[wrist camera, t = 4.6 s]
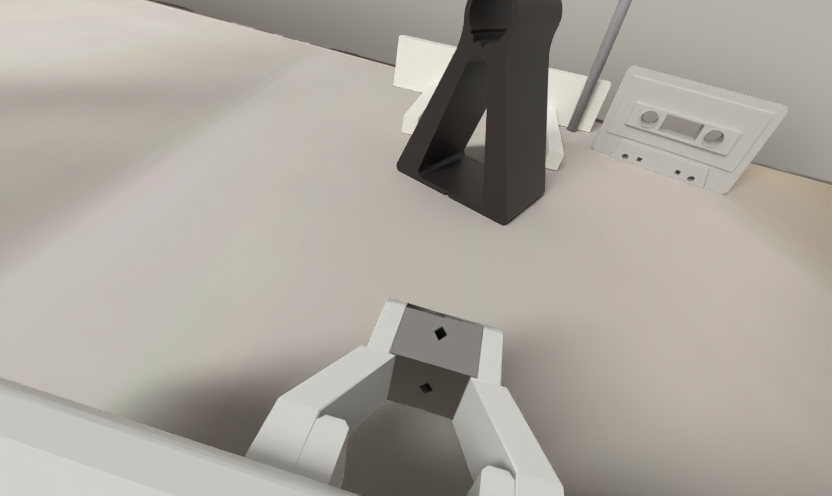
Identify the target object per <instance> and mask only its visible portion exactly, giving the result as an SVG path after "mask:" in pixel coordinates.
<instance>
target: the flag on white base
mask: <svg viewBox="0 0 832 496" xmlns="http://www.w3.org/2000/svg"><path fill="white" fill-rule="evenodd" d="M631 2H632V0H619V3H618V5H617V7H616V10H615V13H614V15H613V17H612V20H611V22H610V25H609V27H608V29H607V32H606V34H605V37H604V39H603V42H602V44H601V46H600V49H599V51H598V54H597V56H596V59H595V61H594V63H593V66H592V68H591V71H590V73H589V76H583V75H579V74H575V73H570V72H565V71H561V70H557V69H553V68H549V69H548V100H547V132H546V164H545V168H548V169H552V170H556V171H557V170H558V167H559V165H560V163H561V160H562V158H563V156H564V150H563V146H562V141H561V136H560V131H559V126H558V125H561V126H565V127H567V129H568V130H569V131H573V132H576V130H577V129H578V130H582V131H586V132H590V130H591V128H592V126H593V124H594V121H595V119H596V117H597V115H598V113H599V110H600V108H601V106H602V104H603V101H604V99H605V97H606V95H607V92H608V90H609V88H610V86H611V83H610V82H609V81H606V80H601V79H599V77H600V74H601V72H602V70H603V67H604V65H605V63H606V60H607V58H608V56H609V53H610V51H611V49H612V46H613V44H614V42H615V39H616V37H617V35H618V32H619V30H620V27H621V25H622V23H623V20H624V18H625V16H626V13H627V11H628V9H629V6H630V4H631ZM456 49H457V47H455V46H450V45H446V44H441V43H437V42H432V41H428V40H423V39H419V38H415V37H410V36H405V35H401V36H399V42H398V51H397V59H396V68H395V76H394V84H393V86H396V87H400V88H405V89H409V90H413V91H417V92H421V93H422V94H421V95H420V97H419V98H418V99H417V100H416V101H415V103H414V104H413V105H412V106H411V107H410V109H409V110H408V111H407V112H406V113H405V115H404V120H403V127H402V133H406V134H410V135H412V134H413V132H414V130H415V128H416V126H417V124H418V122H419V120H420V118H421V116H422V114H423V112H424V110H425V108H426V107H427V105H428V103H429V101H430V99H431V97H432V95H433V93H434V91H435V89H436V87H437V85H438V83H439V81H440V80H441V78H442V76H443V74H444V72H445V70H446V68H447V66H448V64H449V62H450V60H451V58H452V56H453V54H454V53H455V51H456Z"/></svg>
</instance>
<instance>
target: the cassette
mask: <svg viewBox="0 0 832 496" xmlns="http://www.w3.org/2000/svg"><path fill="white" fill-rule="evenodd" d="M647 111H654V112H656V113H657V114H658V118H656V120H655V121H653V122H646V121H644V120H643V118H642V116H644V113H645V112H647ZM787 113H788V108H787V107H786V106H785V105H783V104H779V103H775V102H771V101H768V100H764V99H760V98H756V97H752V96H749V95H745V94H741V93H737V92H734V91H730V90H726V89H722V88H719V87H715V86H711V85H707V84H703V83H700V82H696V81H692V80H688V79H685V78H681V77H677V76H673V75H669V74H666V73H661V72H657V71H654V70H651V69H646V68H643V67H639V66H635V65H633V66H631V67H630V68H629V69H628V70H627V72H626V75H625V77H624V79H623V81H622V83H621V85H620V87H619V89H618V92H617V94H616V96H615V98H614V100H613V102H612V104H611V107H610V109H609V111H608V113H607V115H606V118H605V120H604V122H603V124H602V126H601V127H600V129H599V131H598V133H597V135H596V138H595V140H594V142H593V144H592V149H593V150H595V151H598V152H601V153H604V154H607V155H609V156H610V157H612V158H615V159H618V160H621V161H624V162H627V163H629V164H632V165H635V166H638V167H641V168H644V169H647V170H650V171H653V172H655V173H658V174H661V175H664V176H667V177H670V178H673V179H676V180H679V181H682V182H684V183H687V184H690V185H693V186H696V187H699V188H702V189H703V188H706V189H709V190H712V191H714V192H717V193H720V194H726V193H728V192H729V190H730V189H731V188H732V186H733V185H734V184H735V182H736V181H737V180H738V178H739V177H740V176H741V174H742V173H743V172H744V170H745V169H746V168H747V166H748V165H749V164H750V162H751V161H752V159H753V158H754V157H755V156H756V154H757V153H758V151H759V150H760V149H761V148H762V146H763V145H764V143H765V142H766V141H767V140H768V138H769V137H770V136H771V134H772V133H773V132H774V130H775V129H776V128H777V126H778V125H779V124H780V122H781V121H782V120H783V118H784V117H785V116H786V114H787ZM667 114H668V115H672V116H675V117H679V118H682V119H685V120H689V121H692V122H696V123H699V124H702V125H701V127H700V128H699V130H698V132H697V133H696V135H695V136H694V137H690V136H687V135H684V134H681V133H677V132H674V131H671V130H668V129H664V128H661V127H660V126H661V124H662V122H663V121H664V119H665V117H666V115H667ZM713 130H718V131H720V132H722V135H721V136H720V137H719V138H718V139H716V140H714V141H708V140H706V139H705V138H704V136H705V135H706V134H707V133H708V132H710V131H713ZM625 154H627V155H625Z"/></svg>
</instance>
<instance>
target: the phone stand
mask: <svg viewBox="0 0 832 496" xmlns="http://www.w3.org/2000/svg"><path fill="white" fill-rule="evenodd" d="M561 17H562V2H561V0H468V1H467V4H466V8H465V14H464V26H463V31H462V35H461V38H460V41H459V44H458V46H457V49H456V51H455V53H454V54H453V56H452V58H451V60H450V62H449V64H448V66H447V68H446V70H445V72H444V74H443V76H442V78H441V80H440V81H439V83H438V85H437V87H436V89H435V91H434V93H433V95H432V97H431V99H430V101H429V103H428V105H427V107H426V108H425V110H424V112H423V114H422V116H421V118H420V120H419V122H418V124H417V126H416V128H415V130H414V132H413V134H412V135H411V137H410V139H409V141H408V143H407V145H406V147H405V149H404V151H403V153H402V155H401V157H400V159H399V161H398V162H397V169H398V170H399V171H400V172H402V173H404V174H406V175H408V176H409V177H411V178H413V179H415V180H417V181H419V182H421V183H423V184H425V185H426V186H428V187H430V188H432V189H434V190H436V191H438V192H440V193H442V194H444V195H445V194H448V195H449V198H451V199H453V200H455V201H457V202H459V203H461V204H463V205H464V206H466V207H468V208H470V209H472V210H474V211H476V212H478V213H480V214H482V215H483V216H485V217H487V218H489V219H491V220H493V221H495V222H497V223H499V224H501V225H504V224H506V223H507V222H508V221H509V220H511V219H512V218H513V217H515V216H516V215H517V214H518V213H520V212H521V211H522V210H523V209H525V208H526V207H527V206H528V205H530V204H531V203H532V202H533V201H535V200H536V199H537V198H538V197H540V196H541V195H542V194H543V193H544V191H545V164H546V132H547V100H548V69H549V67H548V66H549V51H550V46H551V42H552V39H553V36H554V34H555V32H556V29H557V28H558V26H559V23H560V21H561ZM486 108H487V117H486V140H485V163H484V164H482V163H480V162H478V161H476V160H474V159H472V158H469V157H467V156H466V155H465V154H464V149H465V147H466V145H467V143H468V141H469V140H470V138H471V136H472V134H473V132H474V130H475V128H476V127H477V125H478V123H479V121H480V119H481V117H482V115H483V114H484V112H485V110H486Z"/></svg>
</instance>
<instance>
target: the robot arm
mask: <svg viewBox="0 0 832 496" xmlns="http://www.w3.org/2000/svg"><path fill="white" fill-rule="evenodd" d="M503 341H504V332H503V330H502V329H498V328H494V327H491V326H487V325H482V324H480V323H476V322H472V321H469V320H465V319H461V318H458V317H454V316H450V315H446V314H442V313H438V312H435V311H432V310H429V309H425V308H422V307H419V306H416V305H412V304H409V303H408V304H407V303H405V302H401V301H398V300H395V299H392V298H388V299H387V301H386V302H385V305H384V307H383V309H382V312H381V314H380V317H379V319H378V321H377V324H376V326H375V329H374V331H373V333H372V336H371V338H370V341H369V343H368V345H367V346H363V345H360V346H359V347H357V348H356V349H354V350H353V351H351V352H349V353H348V354H346V355H345V356H343V357H342V358H340V359H338V360H337V361H335V362H334V363H332V364H331V365H329V366H327V367H326V368H324V369H323V370H321V371H320V372H318V373H316V374H315V375H313V376H312V377H310V378H309V379H307V380H305V381H304V382H302V383H301V384H299V385H298V386H296V387H294V388H293V389H291V390H290V391H288V392H287V393H285V394H283V395H282V396H280V397H279V398H278V399H277V401H276V403H275V405H274V406H273V408H272V410H271V412H270V413H269V415H268V417H267V418H266V420H265V422H264V424H263V425H262V427H261V429H260V431H259V432H258V434H257V436H256V437H255V439H254V441H253V443H252V444H251V446H250V448H249V450H248V451H247V453H246V455H245V456H244V457H242V456H239V455H236V454H233V453H230V452H227V451H224V450H221V449H218V448H215V447H212V446H209V445H206V444H203V443H200V442H197V441H194V440H190V439H187V438H184V437H181V436H178V435H175V434H172V433H169V432H166V431H163V430H160V429H157V428H154V427H151V426H148V425H145V424H142V423H139V422H136V421H133V420H130V419H126V418H123V417H120V416H117V415H114V414H111V413H108V412H105V411H102V410H99V409H96V408H93V407H90V406H87V405H84V404H81V403H78V402H75V401H72V400H69V399H65V398H62V397H59V396H56V395H53V394H50V393H47V392H44V391H41V390H38V389H35V388H32V387H29V386H26V385H23V384H20V383H17V382H14V381H11V380H8V379H5V378H1V377H0V496H361V495H358V494H355V493H352V492H349V491H346V490H343V489H340V488H341V486H342V483H343V480H344V472H345V462H346V453H347V443H348V436H349V435H350V434H352V433H353V432H354V431H355V430H356V429H357V428H358V427H359V426H360V425H361V424H363V423H364V422H365V421H366V420H367V419H368V418H369V417H370V416H371V415H373V414H374V413H375V412H376V411H377V410H378V409H379V408H380V407H381V406H382V405H384V404H385V403H386V401H387V400H390V401H393V402H397V403H401V404H404V405H408V406H412V407H415V408H419V409H422V410H425V411H428V412H431V413H434V414H437V415H440V416H443V417H446V418H449V419H452V420H453V421H452V422H453V425H454V428H455V431H456V434H457V437H458V439H459V442H460V445H461V448H462V451H463V454H464V457H465V460H466V463H467V466H468V469H469V472H470V475H471V478H472V480H473V483H474V484H473V485H472V487H471V489H470V490H469V492H468V493H467V495H466V496H564V489H563V486H562V484H561V482H560V480H559V478H558V477H557V475H556V473H555V471H554V470H553V468H552V466H551V464H550V463H549V461H548V459H547V457H546V455H545V454H544V452H543V450H542V448H541V447H540V445H539V443H538V441H537V440H536V438H535V436H534V434H533V433H532V431H531V429H530V427H529V425H528V424H527V422H526V420H525V418H524V417H523V415H522V413H521V411H520V410H519V408H518V406H517V404H516V402H515V401H514V399H513V397H512V395H511V394H510V392H509V390H508V388H506V387H503V386H501V379H502V360H503Z"/></svg>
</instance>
